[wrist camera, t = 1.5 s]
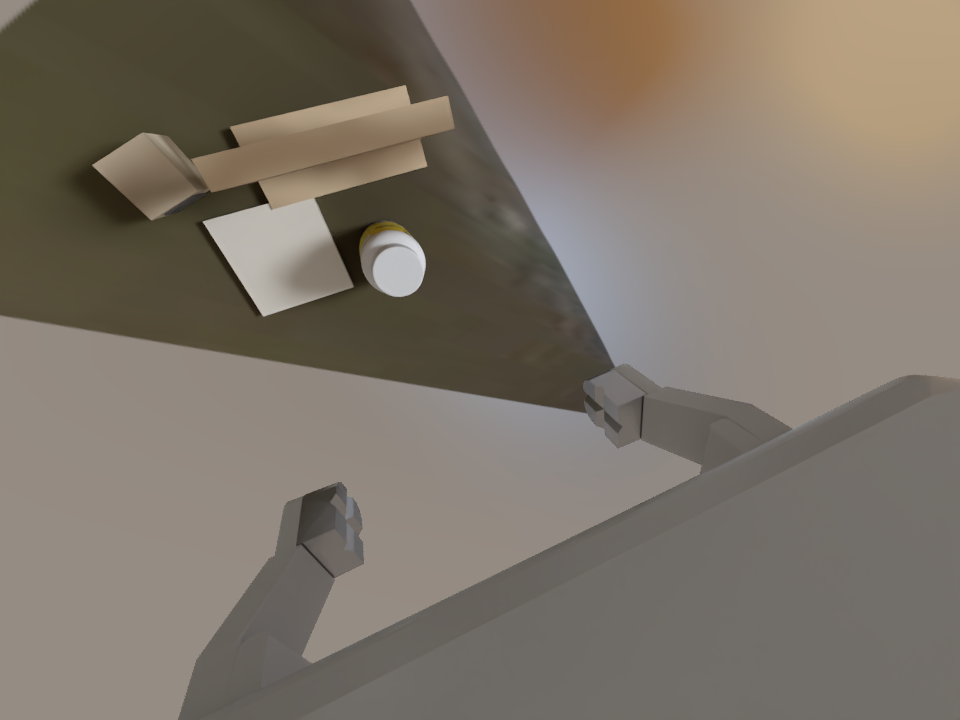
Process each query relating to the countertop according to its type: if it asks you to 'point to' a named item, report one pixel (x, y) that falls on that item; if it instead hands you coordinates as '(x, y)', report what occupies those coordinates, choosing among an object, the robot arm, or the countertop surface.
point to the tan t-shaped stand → (328, 146)
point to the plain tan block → (153, 175)
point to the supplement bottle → (391, 259)
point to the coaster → (281, 254)
